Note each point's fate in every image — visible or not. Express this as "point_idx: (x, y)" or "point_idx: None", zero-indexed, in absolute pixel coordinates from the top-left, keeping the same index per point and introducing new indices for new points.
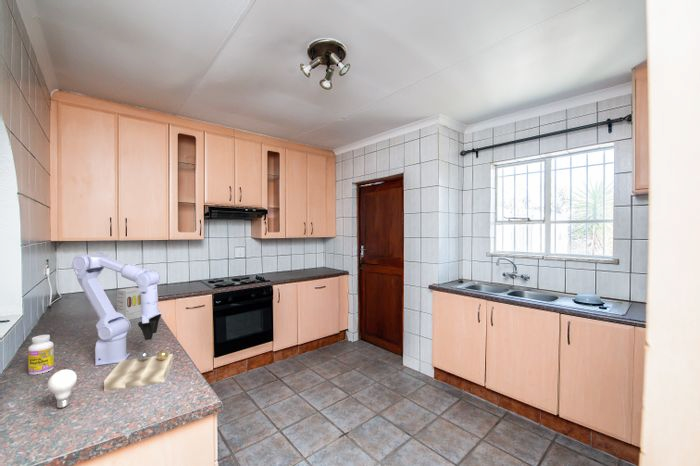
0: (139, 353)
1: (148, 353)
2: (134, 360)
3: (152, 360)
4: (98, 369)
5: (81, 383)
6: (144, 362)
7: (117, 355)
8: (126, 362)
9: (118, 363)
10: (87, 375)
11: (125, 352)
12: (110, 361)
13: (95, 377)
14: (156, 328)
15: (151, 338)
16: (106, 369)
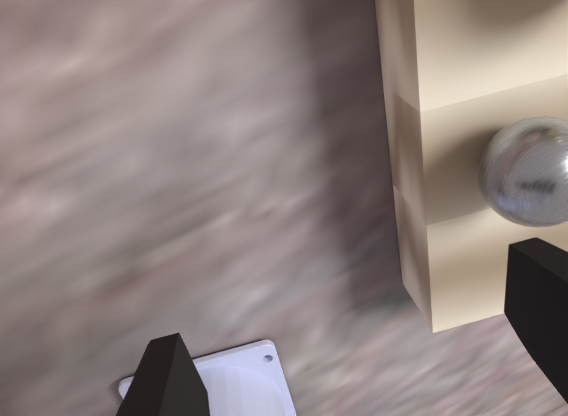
0: (564, 222)
1: (566, 133)
2: (473, 234)
3: (545, 56)
4: (356, 399)
5: (522, 366)
6: (562, 118)
7: (272, 413)
8: (492, 273)
9: (489, 316)
10: (426, 399)
11: (209, 401)
12: (284, 406)
13: (470, 350)
14: (169, 404)
15: (548, 243)
16: (368, 363)
